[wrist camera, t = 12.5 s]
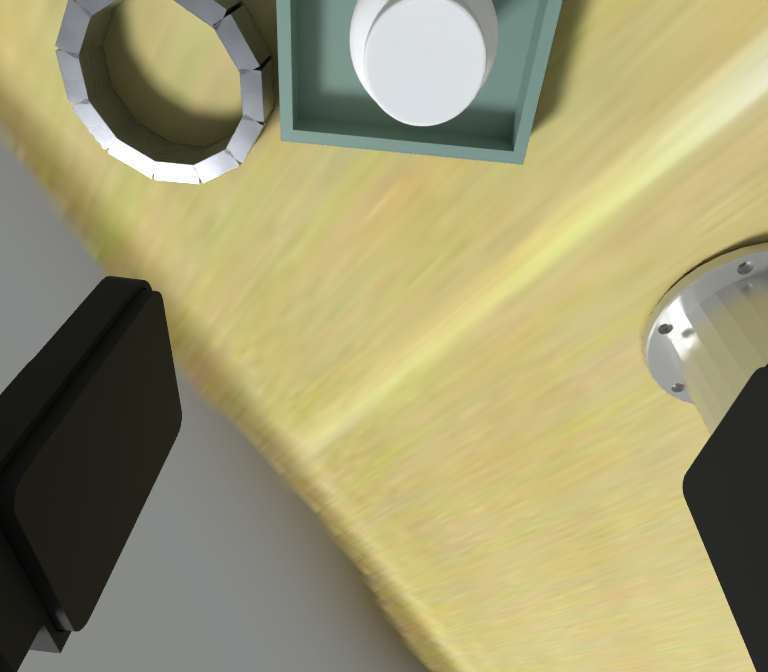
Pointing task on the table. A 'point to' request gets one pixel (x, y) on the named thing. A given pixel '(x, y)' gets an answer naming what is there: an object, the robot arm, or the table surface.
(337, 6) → the tray
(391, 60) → the supplement bottle
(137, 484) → the robot arm
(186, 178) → the collar
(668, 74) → the table surface
